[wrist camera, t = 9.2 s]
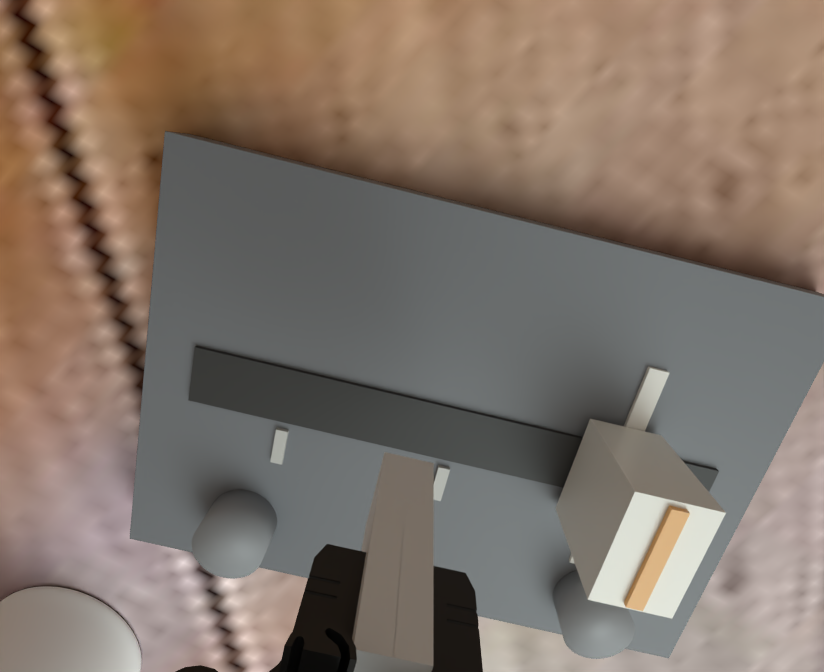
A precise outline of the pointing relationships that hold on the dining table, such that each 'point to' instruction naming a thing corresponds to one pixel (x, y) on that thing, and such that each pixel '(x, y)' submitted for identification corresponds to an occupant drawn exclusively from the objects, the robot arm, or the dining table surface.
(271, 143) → the dining table surface
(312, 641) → the robot arm
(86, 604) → the mug
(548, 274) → the console board
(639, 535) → the fader tab
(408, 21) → the dining table surface
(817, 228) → the dining table surface
